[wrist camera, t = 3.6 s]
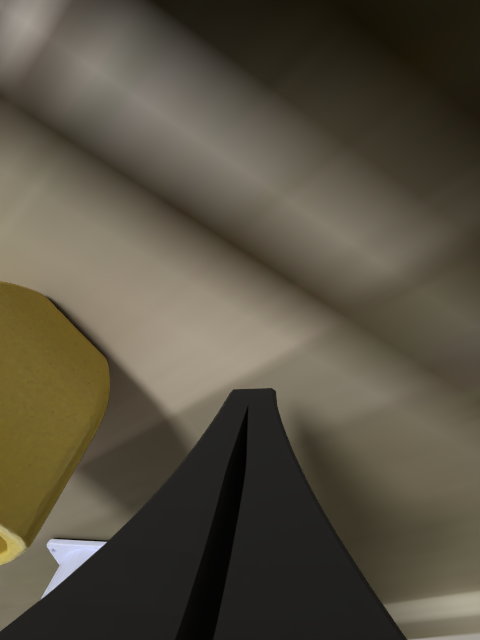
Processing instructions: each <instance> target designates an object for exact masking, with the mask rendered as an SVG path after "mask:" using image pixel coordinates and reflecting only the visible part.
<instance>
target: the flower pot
mask: <svg viewBox="0 0 480 640" xmlns="http://www.w3.org/2000/svg"><path fill="white" fill-rule="evenodd" d="M109 393H110V374H109V367H108V363H107V360H106V358H105V357H104V356H103V355H102V354H101V353H100V352H99V351H98V350H97V349H96V348H95V347H94V346H93V345H92V344H91V343H90V342H89V341H88V340H87V339H86V338H85V337H84V336H83V335H82V334H81V333H80V332H79V331H78V330H77V329H76V328H75V327H74V326H73V325H72V323H71V322H70V321H69V320H68V319H67V318H66V317H65V316H64V315H63V314H62V313H61V312H60V311H59V310H58V309H57V308H56V307H55V306H54V305H53V304H52V303H51V302H50V300H49V299H48V298H46V297H45V296H44V295H43V294H41V293H39V292H37V291H34V290H31V289H28V288H25V287H22V286H19V285H15V284H11V283H6V282H1V281H0V566H1V565H3V564H5V563H7V562H10V561H12V560H14V559H16V558H18V557H19V556H21V555H22V554H23V553H25V552H26V551H27V550H28V549H29V548H30V546H31V544H32V542H33V541H34V539H35V537H36V536H37V534H38V532H39V531H40V529H41V527H42V525H43V524H44V522H45V520H46V519H47V517H48V515H49V514H50V512H51V510H52V508H53V507H54V505H55V503H56V502H57V500H58V498H59V496H60V495H61V493H62V491H63V489H64V488H65V486H66V484H67V482H68V481H69V479H70V477H71V476H72V474H73V472H74V470H75V469H76V467H77V465H78V463H79V462H80V460H81V458H82V456H83V455H84V453H85V451H86V450H87V448H88V446H89V444H90V443H91V441H92V439H93V437H94V435H95V433H96V432H97V430H98V428H99V426H100V423H101V421H102V419H103V416H104V414H105V411H106V408H107V404H108V399H109Z"/></svg>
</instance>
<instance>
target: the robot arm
mask: <svg viewBox="0 0 480 640" xmlns="http://www.w3.org/2000/svg"><path fill="white" fill-rule="evenodd" d="M47 547H48V549H49V550H50V552H51V553H52V555H53V556H54V558H55V559H56V561H57V562H58V564H59V565H60V566H59V568H58V570H57V571H56V573H55V575H54V577H53V578H52V580H51V582H50V584H49V585H48V587H47V589H46V591H45V592H44V594H43V596H42V598H41V599H40V601H38V602H37V603H36V604H35V605H33V606H32V607H31V608H29V609H28V610H27V611H26V612H24V613H23V614H22V615H21V616H19V617H18V618H17V619H16V620H14V621H13V622H12V623H11V624H9V625H8V626H7V627H5V628H4V629H3V630H2V631H0V640H407V639H406V637H405V636H404V635H403V633H402V632H401V630H400V629H399V627H398V626H397V625H396V623H395V622H394V620H393V619H392V617H391V616H390V614H389V613H388V611H387V610H386V609H385V607H384V606H383V604H382V603H381V601H380V600H379V598H378V597H377V595H376V594H375V593H374V591H373V590H372V588H371V587H370V585H369V584H368V582H367V581H366V579H365V577H364V576H363V574H362V573H361V571H360V570H359V568H358V566H357V565H356V563H355V562H354V560H353V559H352V557H351V556H350V554H349V552H348V551H347V549H346V548H345V546H344V545H343V543H342V541H341V540H340V538H339V537H338V535H337V533H336V532H335V530H334V528H333V527H332V525H331V523H330V522H329V520H328V518H327V516H326V515H325V513H324V511H323V510H322V508H321V506H320V504H319V502H318V500H317V499H316V497H315V495H314V493H313V491H312V489H311V487H310V486H309V484H308V482H307V480H306V478H305V476H304V474H303V472H302V469H301V467H300V465H299V463H298V461H297V459H296V457H295V454H294V452H293V450H292V447H291V445H290V442H289V440H288V437H287V435H286V432H285V430H284V427H283V424H282V421H281V418H280V414H279V411H278V407H277V399H276V391H275V390H273V389H272V388H266V389H235V390H232V392H231V393H230V394H229V396H228V398H227V399H226V401H225V402H224V404H223V406H222V407H221V409H220V410H219V412H218V414H217V415H216V417H215V418H214V420H213V421H212V423H211V424H210V426H209V427H208V428H207V430H206V431H205V433H204V434H203V435H202V437H201V438H200V440H199V441H198V442H197V444H196V445H195V446H194V448H193V449H192V450H191V452H190V453H189V454H188V455H187V457H186V458H185V459H184V461H183V462H182V463H181V464H180V466H179V467H178V468H177V469H176V471H175V472H174V473H173V474H172V475H171V476H170V478H169V479H168V480H167V481H166V482H165V483H164V484H163V486H162V487H161V488H160V489H159V490H158V491H157V492H156V493H155V494H154V495H153V497H152V498H151V499H150V500H149V501H148V502H147V503H146V504H145V505H144V506H143V507H142V508H141V509H140V510H139V511H138V512H137V513H136V514H135V515H134V516H133V517H132V518H131V519H130V520H129V521H128V522H127V523H126V524H125V525H124V526H123V527H122V528H121V529H120V530H119V531H118V532H117V533H116V534H115V535H114V536H113V537H112V538H111V539H110V540H109V541H108V542H101V541H82V540H64V539H51V540H49V542H48V543H47Z"/></svg>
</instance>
